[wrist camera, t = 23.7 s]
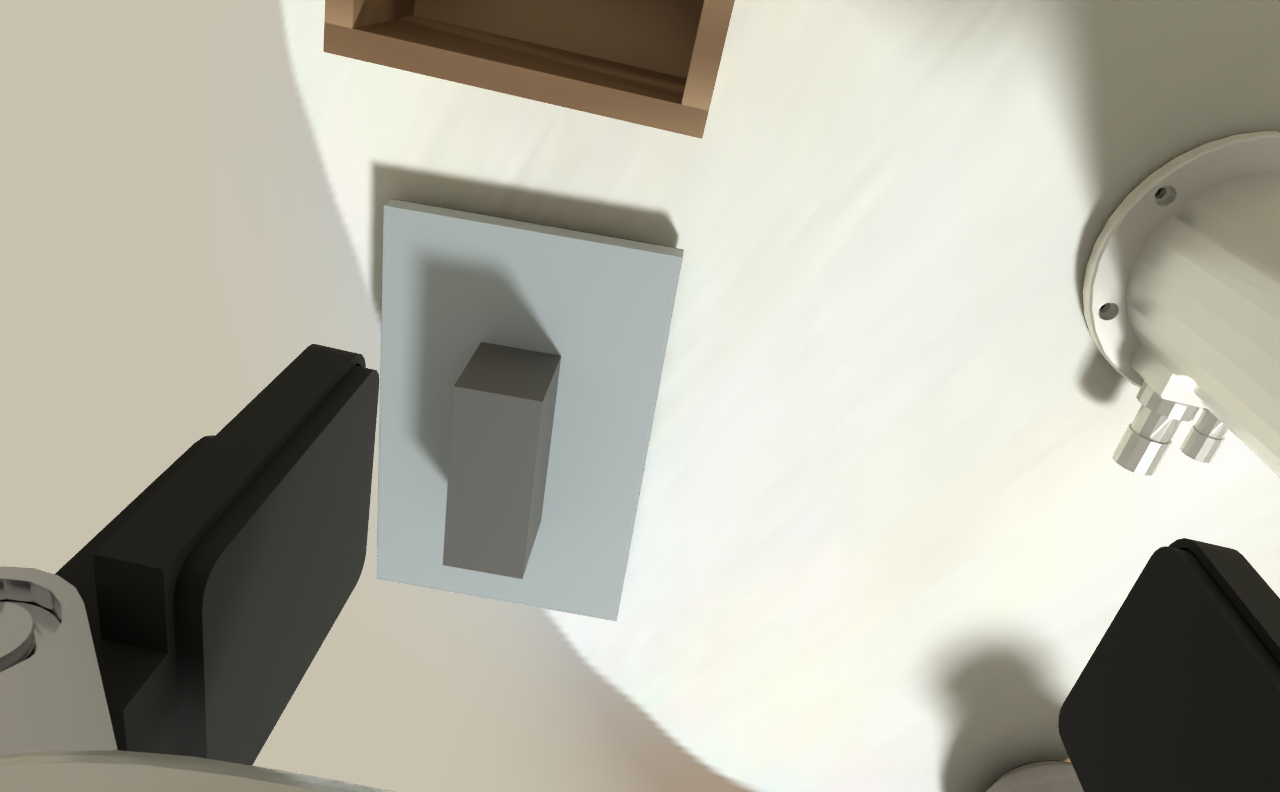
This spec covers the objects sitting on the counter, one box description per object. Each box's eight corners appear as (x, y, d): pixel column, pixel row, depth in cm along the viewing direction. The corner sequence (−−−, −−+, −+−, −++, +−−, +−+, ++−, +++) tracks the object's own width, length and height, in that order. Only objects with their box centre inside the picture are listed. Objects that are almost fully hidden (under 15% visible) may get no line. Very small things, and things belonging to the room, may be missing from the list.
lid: (620, 596, 53) (605, 685, 46) (389, 555, 53) (343, 639, 46) (684, 243, 43) (677, 294, 36) (399, 193, 43) (341, 236, 36)
